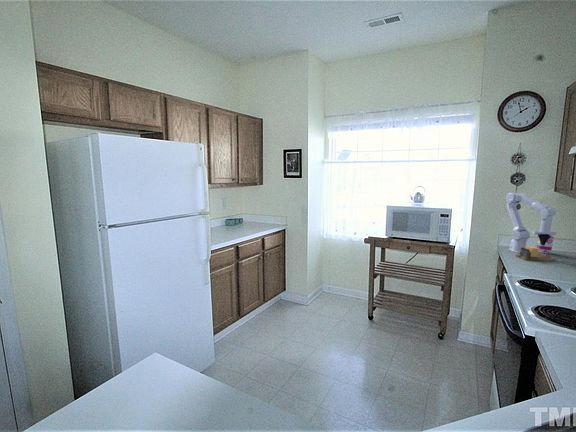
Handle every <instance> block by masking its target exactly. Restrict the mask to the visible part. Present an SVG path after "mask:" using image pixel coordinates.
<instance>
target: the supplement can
mask: <svg viewBox="0 0 576 432" xmlns="http://www.w3.org/2000/svg"><path fill="white" fill-rule="evenodd" d="M550 236H551V237H550V238H549V239H548V240H547V242H546V243H545V245H540V239H539V238H538V241H537V246H536V248H539V252H551V253H552V249H553V243H554V238H555V235H550Z"/></svg>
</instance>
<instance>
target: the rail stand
mask: <svg viewBox="0 0 576 432" xmlns="http://www.w3.org/2000/svg"><path fill="white" fill-rule="evenodd" d="M529 254H530V251H529V249H526V247H525V248H521V249H520V253H515V257H517V258H519V259H521V260H524V261H527V262H529V261H530V262H556V258H553V257H552V251H551V252H538V257H530V256H529Z"/></svg>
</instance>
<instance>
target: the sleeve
mask: <svg viewBox="0 0 576 432" xmlns="http://www.w3.org/2000/svg"><path fill="white" fill-rule="evenodd" d="M525 248H526V249H529V251H530V254H529V256H530V257H538V255H539V253H538V252H539V248H537V246H529V245H526V247H525Z"/></svg>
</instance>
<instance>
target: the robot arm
mask: <svg viewBox="0 0 576 432" xmlns="http://www.w3.org/2000/svg"><path fill="white" fill-rule="evenodd" d="M505 201H506V208H507V211H508V214H509V217H510V220H511V223H512V226H513V229H512V230H511V232H512V238H513V239H511V240H510V245H509V248H508V250H509V251H511V252H514V253H515V254H520V249H521V248H526V246H527V241H528V239H530V236H531V234H530V232H529V231H528V229H527V228H526V227H524V225H523V221H522V219H521V217H520V213H519V211H518V208H517V206H518V205H519V204H520V203H521V202H523V203H525V204H527V205H529V206H530V207H531V209H533V210H535V211H536V212H538V213H540V218H541V219H540V226H539V230H533V231H532V235H534V236H535V235H536V236H537V237H538V239H540V245H545V243H546V242H547V240H548V239H549V238H550V237H551V236H550V235H554V236H557V232H556V231H551V230H552V224H553V218H554V216H555V215H556V213H557V211H556V209H555V208H553V207H549V205H545V204H543V203H542V201H534V200H533V199H531V198H530V197H528V196H527V195H526V194H524V193H523V192H509V193H507V194H506V197H505Z"/></svg>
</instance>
